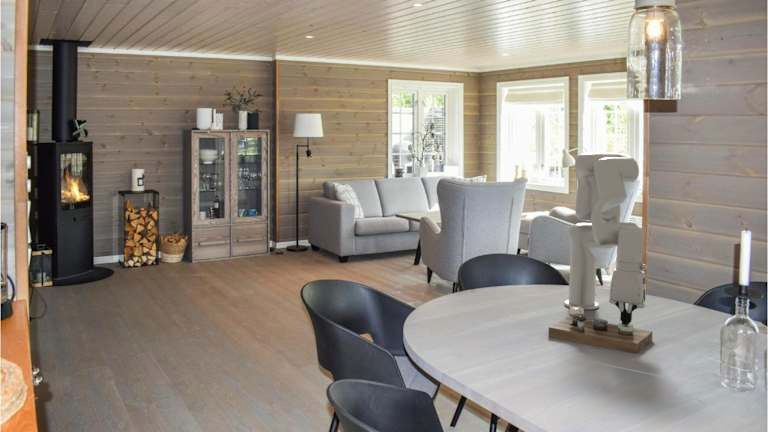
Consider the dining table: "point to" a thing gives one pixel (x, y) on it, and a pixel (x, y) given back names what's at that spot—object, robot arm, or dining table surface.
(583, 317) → the dial post
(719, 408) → the dining table surface
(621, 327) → the knob sage
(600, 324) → the knob charcoal
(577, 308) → the knob cream
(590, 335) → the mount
